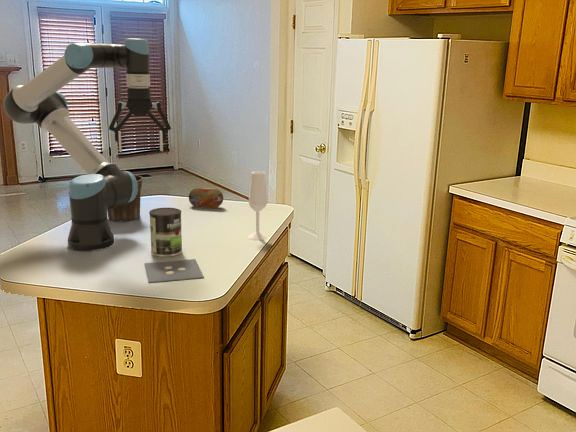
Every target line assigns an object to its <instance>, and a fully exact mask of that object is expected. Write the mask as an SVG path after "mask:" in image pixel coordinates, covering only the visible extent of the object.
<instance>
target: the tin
mask: <svg viewBox="0 0 576 432" xmlns="http://www.w3.org/2000/svg"><path fill="white" fill-rule="evenodd" d="M188 194H189V195H188V201H189V203H190V204H191V205H192V207H195V208H201V207H203V208H204V209H206V208H207V209H216V208H218V207H220V206H221V205H222V204H223V202H224V195H223V192H222V191H221V190H219V189H217V188H209V187H207V188H205V187H196V188H193V189H191V191H190V192H189V193H188Z"/></svg>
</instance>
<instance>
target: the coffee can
mask: <svg viewBox="0 0 576 432" xmlns="http://www.w3.org/2000/svg"><path fill="white" fill-rule="evenodd" d="M148 213H149V227H150V228H149V229H150V232H149V233H150V253H151V255H153V256H156V257H161V258H163V257H164V258H167V257H168V258H169V257H175V256H178V255H181V254H182V253H183V244H182V242H183V241H182V210H181V209H180V208H175V207H158V208H153V209H151V210H149V212H148Z"/></svg>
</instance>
